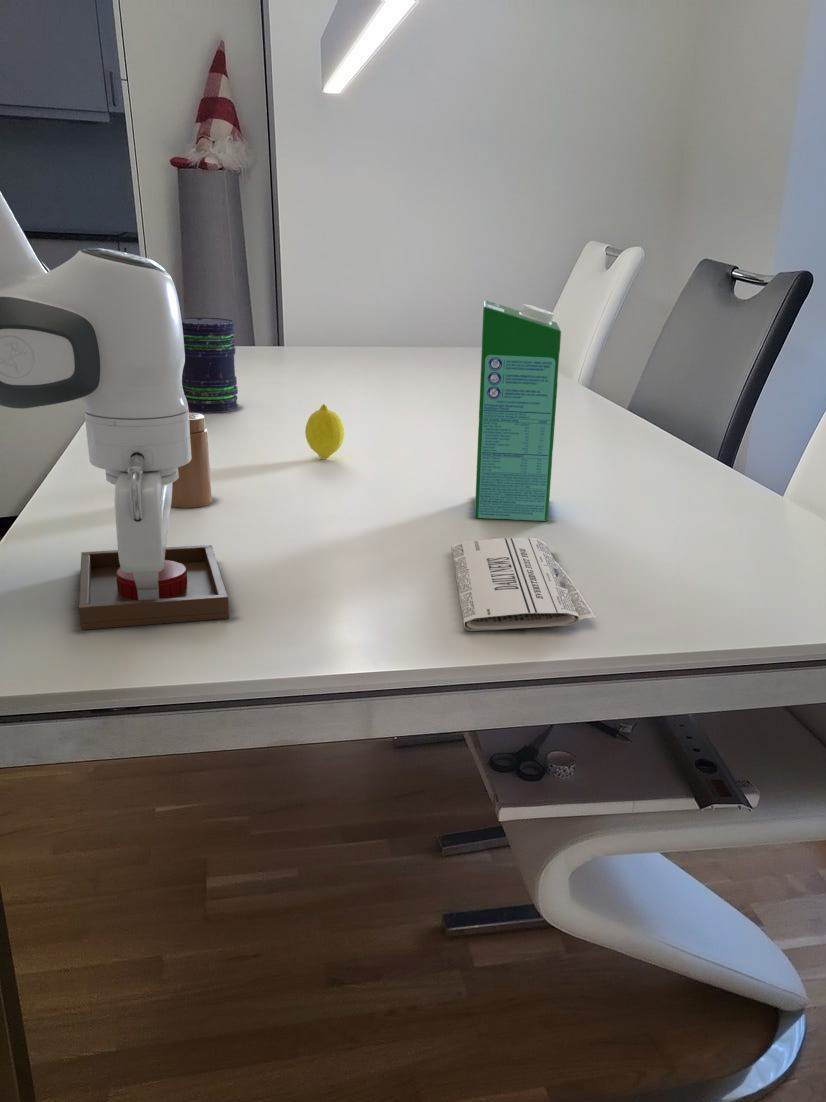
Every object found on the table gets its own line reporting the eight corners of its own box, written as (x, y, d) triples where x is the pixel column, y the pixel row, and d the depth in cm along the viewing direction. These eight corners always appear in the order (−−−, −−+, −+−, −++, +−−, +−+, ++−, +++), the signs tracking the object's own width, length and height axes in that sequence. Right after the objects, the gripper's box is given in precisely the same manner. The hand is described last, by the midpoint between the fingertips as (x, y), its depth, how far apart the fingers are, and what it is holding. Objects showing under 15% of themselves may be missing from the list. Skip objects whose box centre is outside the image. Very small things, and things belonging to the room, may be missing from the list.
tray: (83, 571, 103) (81, 552, 102) (212, 563, 107) (211, 544, 106) (81, 630, 90) (78, 607, 89) (229, 618, 94) (228, 596, 93)
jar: (155, 502, 127) (148, 416, 123) (189, 493, 132) (183, 409, 127) (188, 510, 125) (182, 422, 120) (221, 501, 129) (216, 416, 125)
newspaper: (598, 632, 94) (597, 607, 93) (465, 643, 94) (463, 618, 93) (561, 552, 115) (560, 531, 114) (452, 561, 115) (450, 539, 114)
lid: (186, 599, 96) (185, 580, 95) (115, 602, 94) (113, 582, 94) (187, 576, 102) (186, 558, 101) (120, 579, 100) (118, 560, 99)
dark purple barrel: (247, 410, 183) (243, 323, 177) (193, 414, 178) (187, 324, 172) (226, 401, 191) (221, 316, 185) (173, 404, 185) (167, 318, 179)
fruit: (322, 465, 148) (321, 409, 145) (298, 458, 152) (296, 403, 149) (351, 459, 152) (351, 405, 149) (327, 453, 156) (326, 399, 153)
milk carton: (547, 521, 127) (562, 309, 117) (474, 518, 127) (483, 305, 117) (544, 502, 135) (558, 302, 126) (475, 499, 135) (484, 299, 125)
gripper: (173, 469, 84) (184, 626, 90) (178, 419, 102) (187, 552, 108) (91, 470, 83) (107, 629, 88) (111, 420, 101) (124, 554, 106)
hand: (152, 586), depth 98 cm, fingers open, 8 cm apart
